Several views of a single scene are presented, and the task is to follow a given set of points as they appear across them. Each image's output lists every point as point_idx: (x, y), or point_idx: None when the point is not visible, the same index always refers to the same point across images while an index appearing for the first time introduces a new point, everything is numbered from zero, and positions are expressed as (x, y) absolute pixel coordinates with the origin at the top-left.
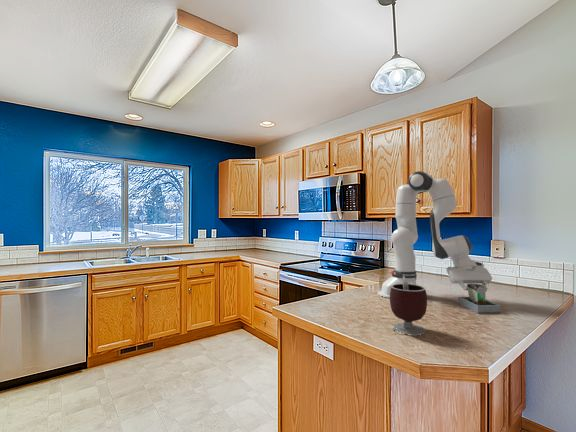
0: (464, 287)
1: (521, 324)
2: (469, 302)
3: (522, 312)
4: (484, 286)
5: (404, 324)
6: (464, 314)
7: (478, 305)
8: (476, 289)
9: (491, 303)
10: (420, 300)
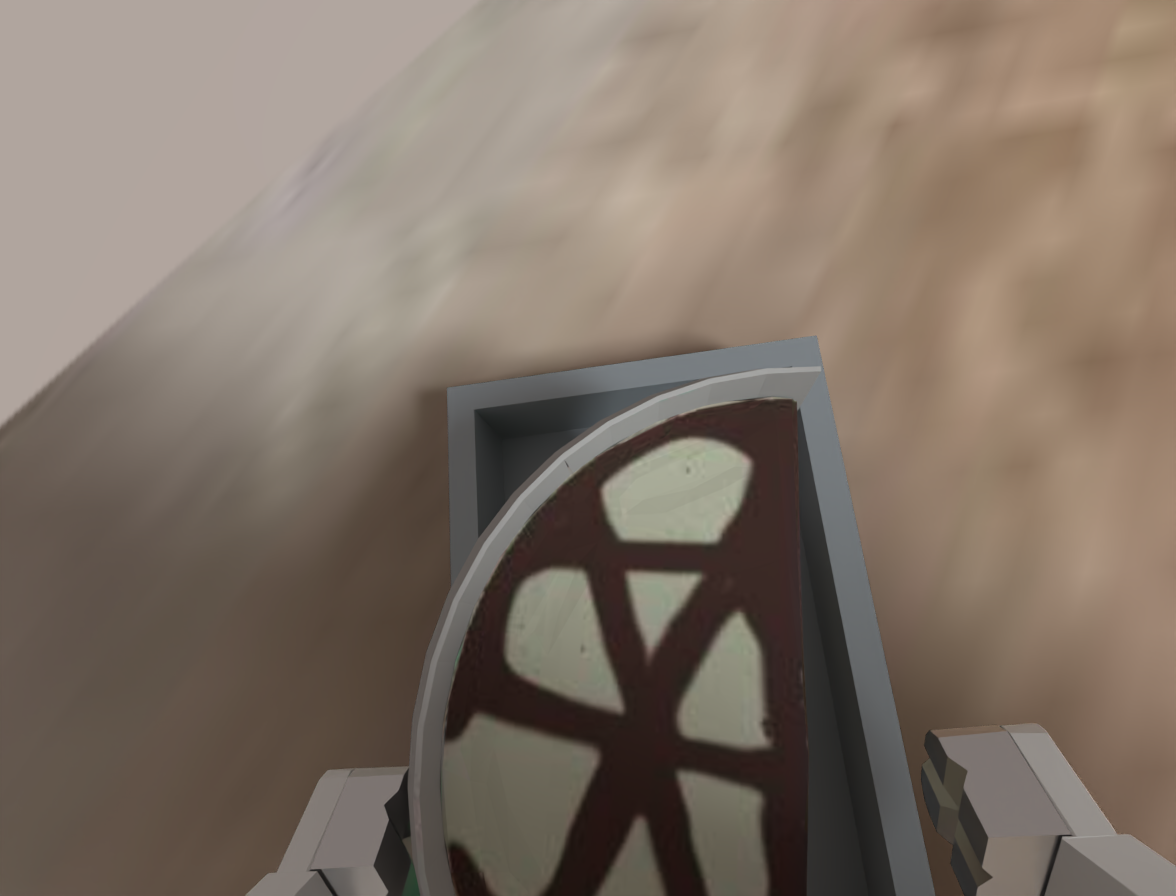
0: (1073, 807)
1: (509, 79)
2: (864, 575)
3: (193, 490)
4: (448, 642)
5: None
6: (1009, 316)
7: (792, 359)
8: (768, 503)
9: None
10: None
